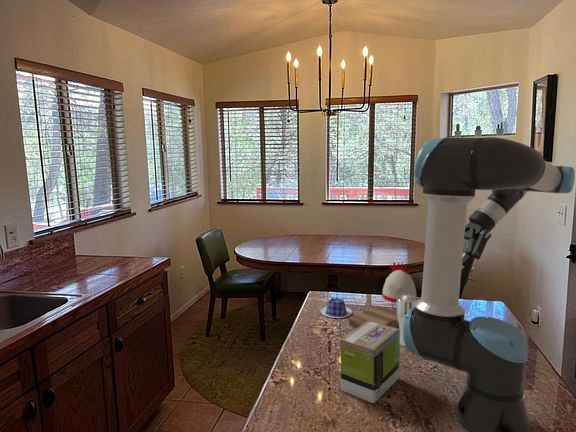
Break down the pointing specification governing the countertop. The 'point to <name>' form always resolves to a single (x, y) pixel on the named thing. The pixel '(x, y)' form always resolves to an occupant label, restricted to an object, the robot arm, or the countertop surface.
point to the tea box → (370, 360)
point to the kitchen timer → (398, 284)
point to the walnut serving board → (374, 317)
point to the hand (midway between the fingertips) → (440, 265)
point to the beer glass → (403, 311)
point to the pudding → (336, 309)
